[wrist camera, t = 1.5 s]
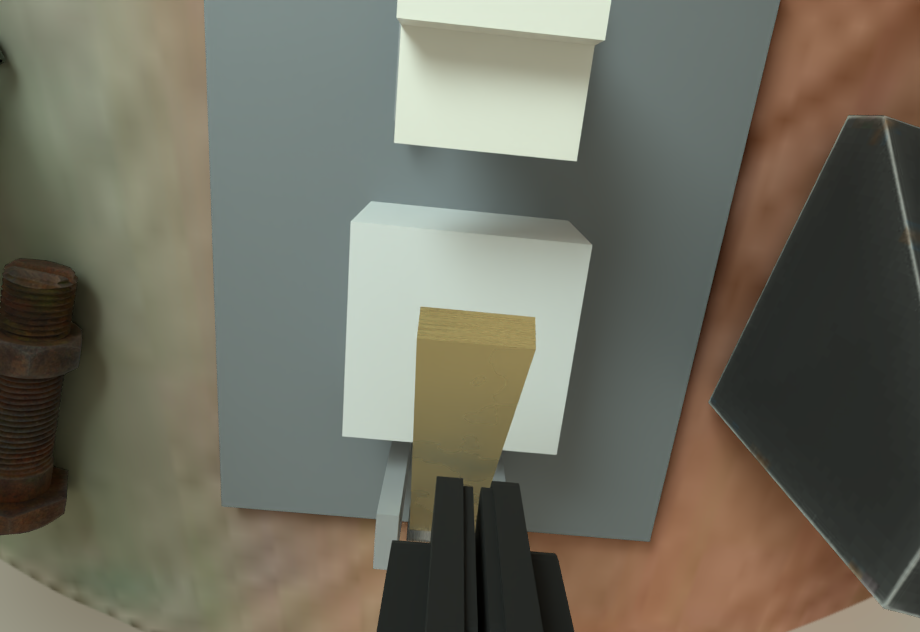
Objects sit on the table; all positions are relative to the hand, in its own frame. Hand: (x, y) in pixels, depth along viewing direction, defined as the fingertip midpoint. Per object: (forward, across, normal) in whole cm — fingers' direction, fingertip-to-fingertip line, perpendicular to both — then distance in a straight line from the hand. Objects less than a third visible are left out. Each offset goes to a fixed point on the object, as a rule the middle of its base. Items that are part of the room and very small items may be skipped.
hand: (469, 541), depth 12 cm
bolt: (+22, +23, +8) cm, 33 cm away
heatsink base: (+22, 0, 0) cm, 22 cm away
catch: (+20, 0, -11) cm, 23 cm away
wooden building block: (+15, 0, +4) cm, 15 cm away
